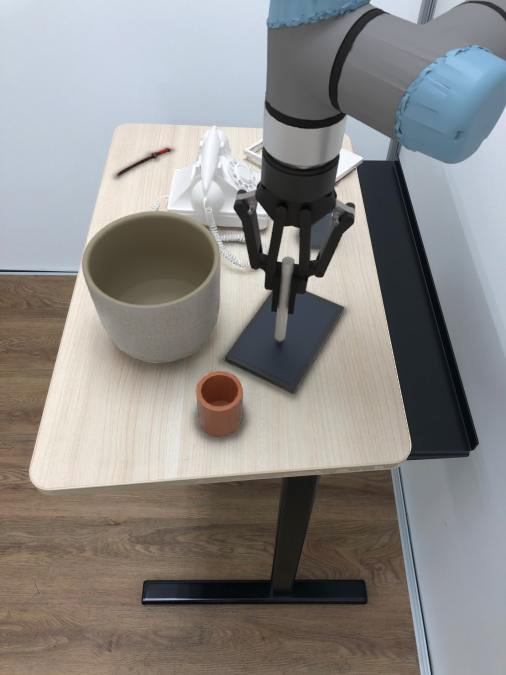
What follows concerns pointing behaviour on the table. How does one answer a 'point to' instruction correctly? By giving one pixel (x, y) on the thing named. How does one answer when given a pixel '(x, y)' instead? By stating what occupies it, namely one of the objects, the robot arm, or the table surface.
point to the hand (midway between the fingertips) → (283, 304)
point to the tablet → (285, 341)
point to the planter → (155, 284)
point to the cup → (220, 403)
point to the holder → (320, 231)
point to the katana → (145, 160)
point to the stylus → (284, 298)
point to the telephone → (214, 189)
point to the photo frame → (345, 164)
